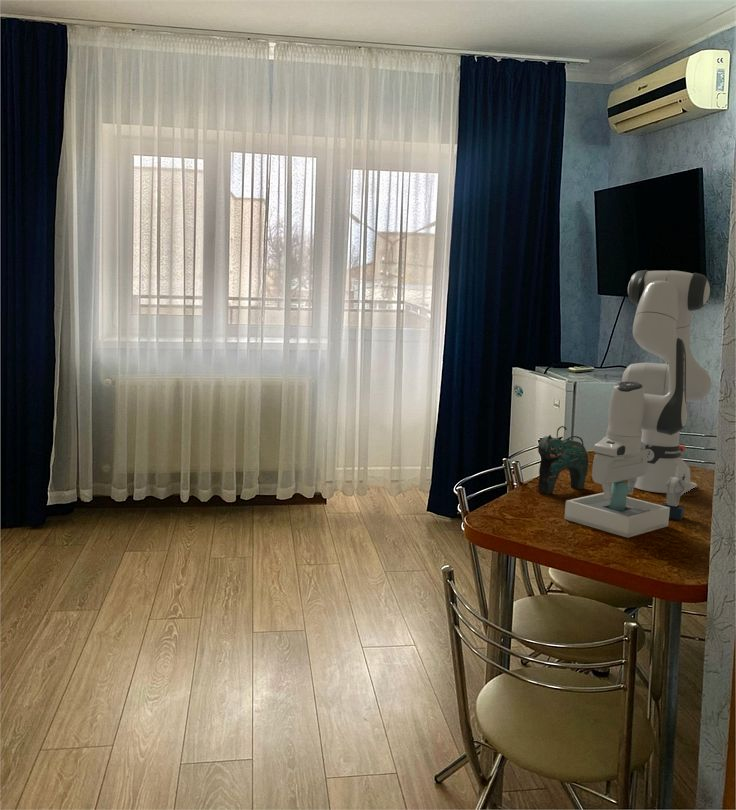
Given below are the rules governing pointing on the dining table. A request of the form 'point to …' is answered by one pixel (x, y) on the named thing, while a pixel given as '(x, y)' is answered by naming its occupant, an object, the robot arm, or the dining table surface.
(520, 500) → the dining table surface
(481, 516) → the dining table surface
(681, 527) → the dining table surface
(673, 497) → the watch
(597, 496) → the open box
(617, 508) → the peg
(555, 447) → the ceramic cat
